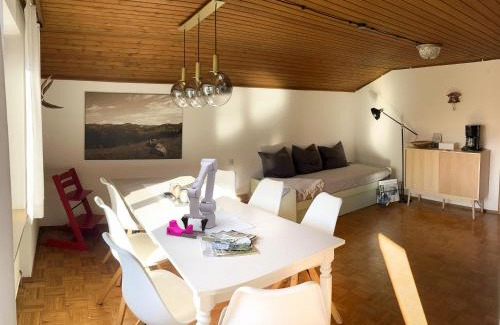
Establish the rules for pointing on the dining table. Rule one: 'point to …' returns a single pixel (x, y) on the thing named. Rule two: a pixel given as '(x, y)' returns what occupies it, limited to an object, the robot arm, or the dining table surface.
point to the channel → (191, 235)
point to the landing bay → (212, 237)
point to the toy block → (178, 229)
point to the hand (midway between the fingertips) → (194, 229)
